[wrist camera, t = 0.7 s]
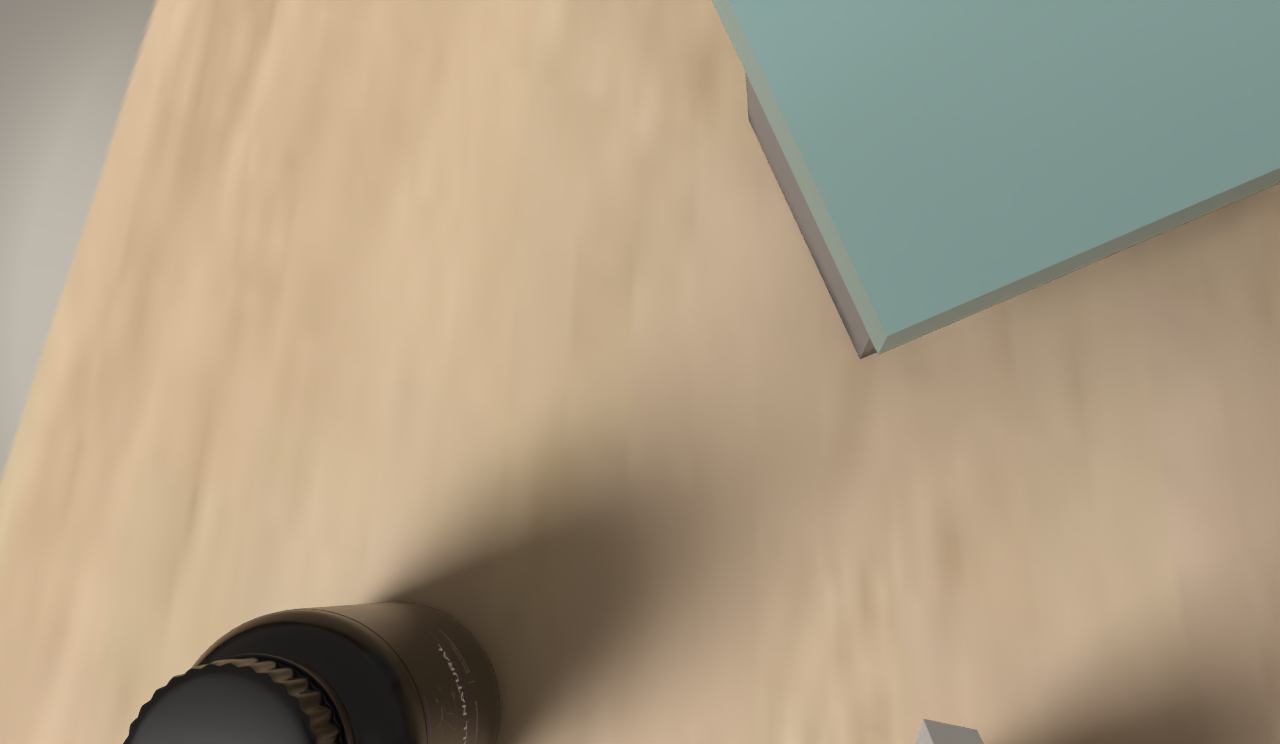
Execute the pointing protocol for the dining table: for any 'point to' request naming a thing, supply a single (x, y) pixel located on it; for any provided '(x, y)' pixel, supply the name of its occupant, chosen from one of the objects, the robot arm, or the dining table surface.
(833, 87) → the lid
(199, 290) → the dining table surface
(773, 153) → the box
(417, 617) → the supplement bottle
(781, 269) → the dining table surface
